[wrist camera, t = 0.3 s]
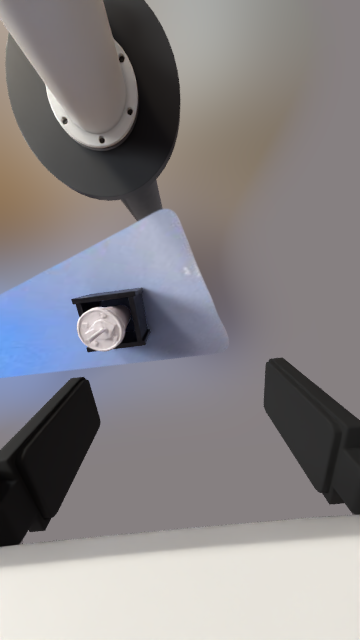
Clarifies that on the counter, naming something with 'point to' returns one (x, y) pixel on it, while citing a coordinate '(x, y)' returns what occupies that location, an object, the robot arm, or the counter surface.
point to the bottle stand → (137, 310)
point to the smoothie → (103, 327)
